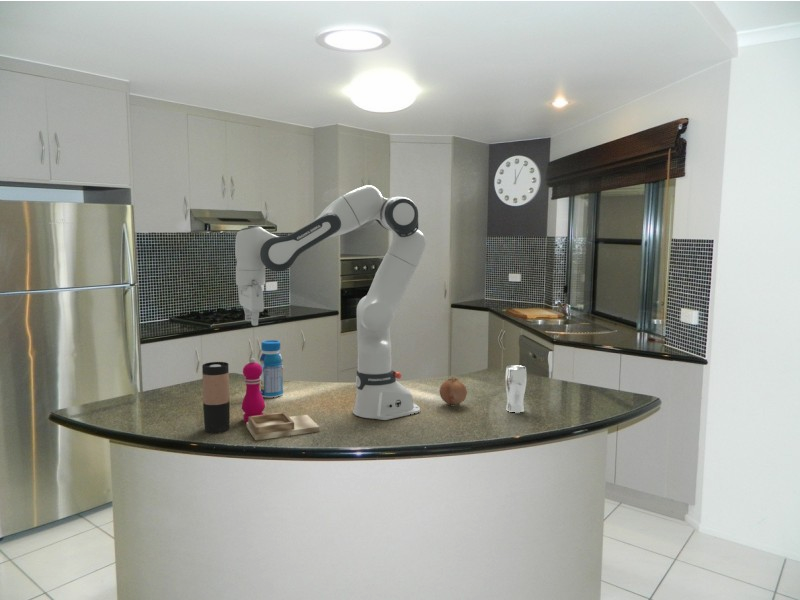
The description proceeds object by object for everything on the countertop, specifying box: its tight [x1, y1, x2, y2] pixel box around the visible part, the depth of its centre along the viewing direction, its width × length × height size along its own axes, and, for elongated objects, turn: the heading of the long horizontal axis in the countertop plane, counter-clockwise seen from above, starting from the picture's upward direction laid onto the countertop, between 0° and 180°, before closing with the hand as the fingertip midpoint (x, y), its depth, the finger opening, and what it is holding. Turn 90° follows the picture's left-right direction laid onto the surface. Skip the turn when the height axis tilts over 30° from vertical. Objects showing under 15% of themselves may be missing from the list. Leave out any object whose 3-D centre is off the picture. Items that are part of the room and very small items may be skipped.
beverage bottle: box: [259, 339, 284, 399], centre depth 213 cm, size 8×8×20 cm
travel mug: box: [201, 361, 231, 434], centre depth 175 cm, size 8×8×20 cm
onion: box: [439, 376, 468, 407], centre depth 202 cm, size 10×9×10 cm
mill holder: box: [246, 411, 320, 441], centre depth 176 cm, size 19×13×4 cm
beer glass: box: [504, 364, 527, 414], centre depth 196 cm, size 7×7×15 cm
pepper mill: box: [241, 357, 266, 423], centre depth 184 cm, size 7×7×20 cm
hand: (251, 323), depth 182 cm, fingers open, 8 cm apart
